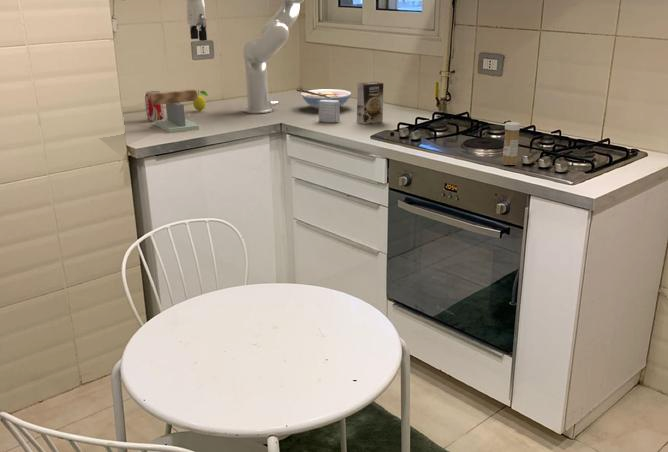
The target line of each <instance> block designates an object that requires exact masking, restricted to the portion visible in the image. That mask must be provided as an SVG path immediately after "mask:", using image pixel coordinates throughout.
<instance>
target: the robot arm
mask: <svg viewBox="0 0 668 452" xmlns="http://www.w3.org/2000/svg"><path fill="white" fill-rule="evenodd" d="M304 2H305V0H281V5H280V7H279V9H278V10H277V11H276V13H275V14H274V15H273V16H272V17H271V18H270V19H269V20H268V21H267V22H266V23H265V24H264V25H263V26H262V28H261V33H260V34H261V36H260V37H259V38H251V39H249V40H247V41H246V42H245V43H244V45H243V49H242V52H243V60H244V67H245V83H246V99H247V104H246V105H247V107H246V108H244V109H243V111H244V112H245V113H246V114H256V115H257V114H267V113H271V112H272V111H273V107H275V106H279V104H280V103H279V101H277V100H276V101H275V100H274V101H272V100H269V81H268V65H267V62H269V61H270V60H271V59H272V58H273V57H274V56H275V55H276V54H277V53H278V52H279V51H280V49H282V47H283V46H284V45H285V44H286V43H287V41H288V40H289V37H290V32H289V29H290V28H291V27H292V26H293V24H294V23H295V22H297V21H296V20H298V17H299V14H300V9H301V8H300V7H301V4H302V3H304ZM205 7H206V6H205V0H186V12H187V13H186V14H187V15H186V17H187V18H186V20H187V24H188V26H189V30H190V31H189V33H190V39H191V40H198V41H199V42H200V41H201V42H203V41H207V40H208V35H207V16H206V9H205Z"/></svg>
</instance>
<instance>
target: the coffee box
mask: <svg viewBox="0 0 668 452" xmlns="http://www.w3.org/2000/svg"><path fill="white" fill-rule="evenodd" d="M356 86H357V96H356V99H357V102H356V122H357V123H359V122H360V123H359V124H361V123H363V124H362V125H370V124H369V123H373V124H378V122H381V123H383V119H384V118H383V117H384V116H383V115H384V112H383V111H384V110H383V109H384V83H382V82H379V81H370V82H367V81H366V82H357V85H356Z"/></svg>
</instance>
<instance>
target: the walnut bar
mask: <svg viewBox="0 0 668 452" xmlns="http://www.w3.org/2000/svg"><path fill="white" fill-rule="evenodd" d="M197 93H198V90H196V89H185V90H176V91H167V92H160V93H154V94H151V104H153V105H159V104H163V105H166V104H169V103H178V102H179V103H186V102H187V103H188V102H193V101H197V95H198V94H197Z"/></svg>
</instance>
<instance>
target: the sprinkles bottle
mask: <svg viewBox="0 0 668 452" xmlns="http://www.w3.org/2000/svg"><path fill="white" fill-rule="evenodd" d="M520 130H521V123H520V122H518V121H507V122H505V124H504V141H503V149H502V150H503V151H502V162H503V163H505V164H516V165H517V158H518V148H519V136H520ZM502 162H501V163H502Z"/></svg>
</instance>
